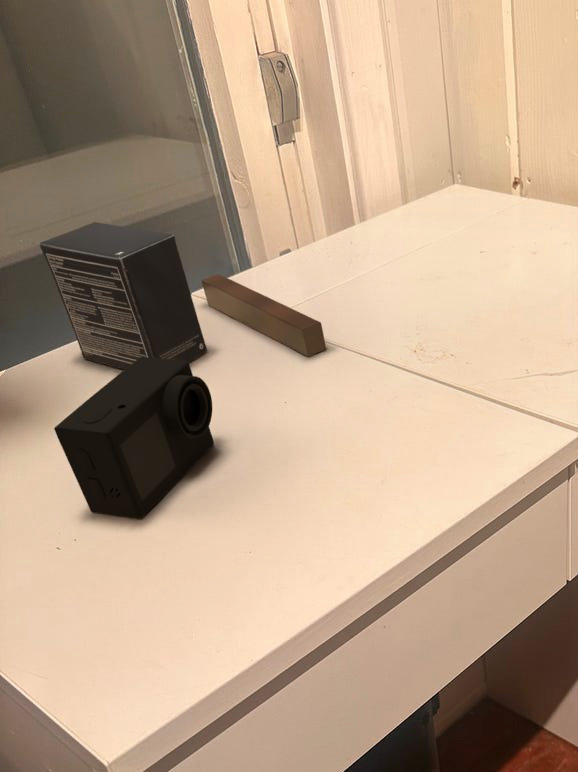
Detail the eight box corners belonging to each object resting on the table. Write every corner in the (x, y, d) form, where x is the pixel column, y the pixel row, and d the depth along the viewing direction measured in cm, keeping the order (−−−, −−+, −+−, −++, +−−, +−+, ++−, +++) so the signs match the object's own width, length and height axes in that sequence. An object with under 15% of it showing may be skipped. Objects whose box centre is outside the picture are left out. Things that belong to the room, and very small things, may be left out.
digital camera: (155, 523, 63) (120, 434, 59) (90, 513, 65) (51, 426, 60) (228, 445, 70) (203, 360, 66) (168, 438, 72) (139, 355, 67)
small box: (213, 350, 83) (178, 231, 76) (160, 381, 79) (118, 259, 72) (134, 330, 88) (94, 217, 81) (81, 359, 84) (34, 242, 77)
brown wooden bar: (208, 305, 91) (200, 280, 89) (225, 298, 92) (218, 273, 90) (308, 357, 81) (302, 330, 79) (326, 349, 82) (321, 322, 80)
